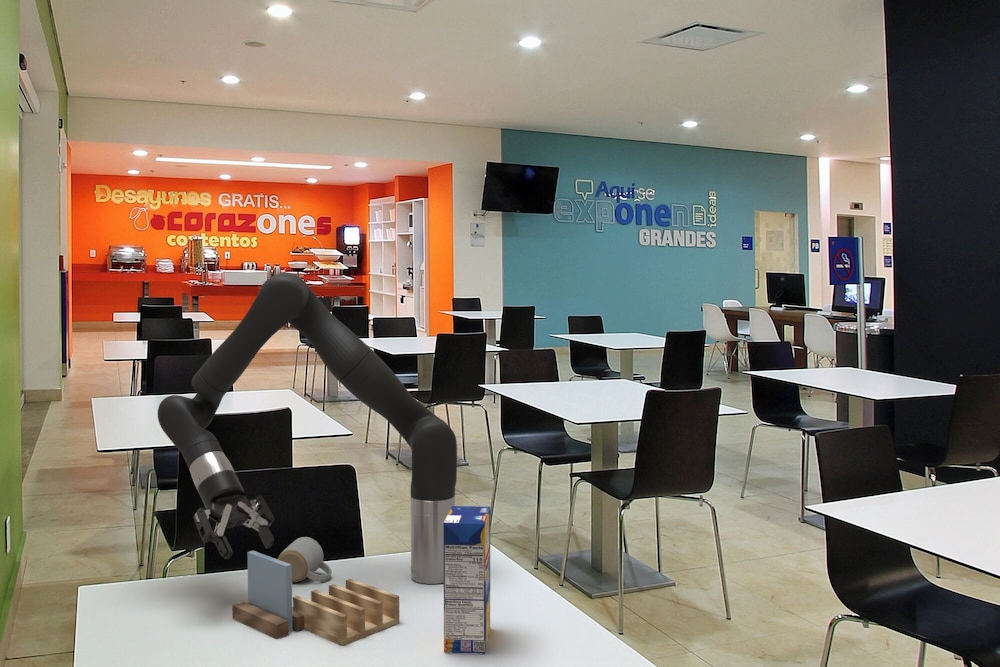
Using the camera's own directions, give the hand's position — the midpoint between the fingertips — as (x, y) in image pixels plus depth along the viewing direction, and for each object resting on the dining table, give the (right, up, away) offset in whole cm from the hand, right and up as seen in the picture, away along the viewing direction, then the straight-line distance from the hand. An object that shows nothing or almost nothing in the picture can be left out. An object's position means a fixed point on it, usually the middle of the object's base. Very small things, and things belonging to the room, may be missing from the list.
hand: (250, 551), depth 160 cm
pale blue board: (+5, -12, -3) cm, 13 cm away
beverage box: (+41, -13, -11) cm, 44 cm away
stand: (+5, -12, -3) cm, 13 cm away
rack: (+18, -12, -4) cm, 22 cm away
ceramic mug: (+6, -11, +21) cm, 24 cm away
